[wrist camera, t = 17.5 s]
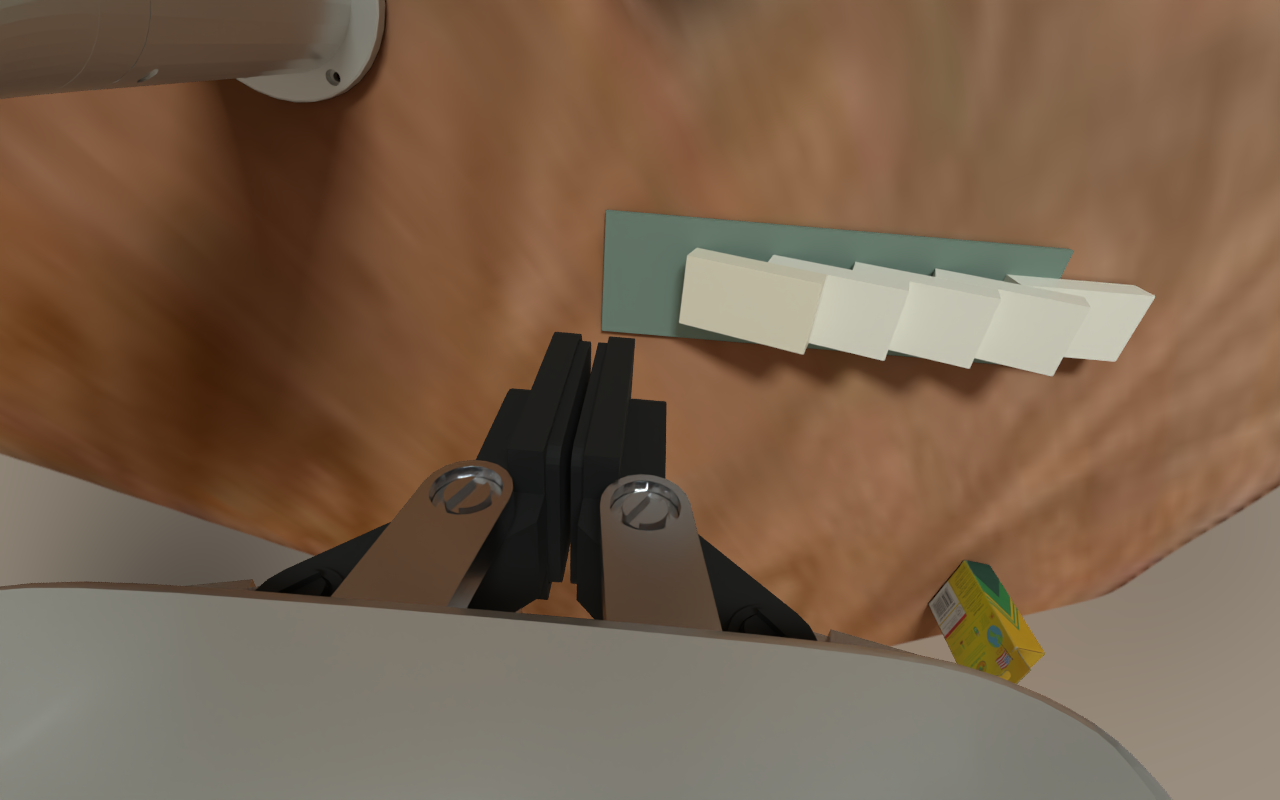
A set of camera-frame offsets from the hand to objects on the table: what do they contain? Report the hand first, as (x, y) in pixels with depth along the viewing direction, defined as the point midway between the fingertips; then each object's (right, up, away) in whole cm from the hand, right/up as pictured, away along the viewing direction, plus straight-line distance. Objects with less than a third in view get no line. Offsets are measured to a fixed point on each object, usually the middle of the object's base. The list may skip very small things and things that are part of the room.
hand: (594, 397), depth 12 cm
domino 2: (+10, +8, +28) cm, 30 cm away
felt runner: (+14, +8, +29) cm, 33 cm away
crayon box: (+34, -19, +45) cm, 59 cm away
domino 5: (+26, +6, +28) cm, 39 cm away
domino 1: (+4, +8, +28) cm, 29 cm away
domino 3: (+16, +7, +28) cm, 32 cm away
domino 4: (+21, +7, +28) cm, 35 cm away
